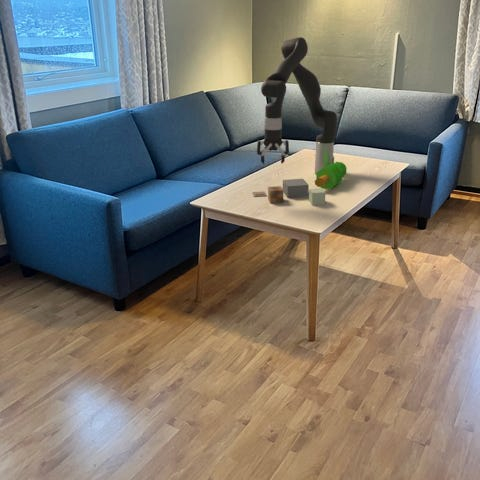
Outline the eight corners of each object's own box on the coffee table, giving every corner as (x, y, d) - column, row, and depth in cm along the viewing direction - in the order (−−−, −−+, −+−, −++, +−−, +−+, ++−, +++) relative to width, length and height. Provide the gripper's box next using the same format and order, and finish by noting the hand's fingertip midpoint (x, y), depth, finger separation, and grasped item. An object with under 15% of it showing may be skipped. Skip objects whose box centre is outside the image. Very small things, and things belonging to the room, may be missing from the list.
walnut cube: (280, 198, 248) (280, 186, 245) (283, 202, 242) (283, 190, 240) (268, 199, 247) (268, 186, 245) (270, 203, 242) (270, 191, 239)
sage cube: (321, 200, 244) (322, 188, 242) (324, 204, 238) (325, 192, 236) (308, 201, 243) (309, 188, 241) (312, 205, 238) (312, 193, 235)
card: (264, 192, 256) (264, 190, 256) (266, 196, 251) (266, 194, 250) (252, 192, 255) (252, 191, 255) (254, 196, 250) (254, 195, 250)
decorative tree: (314, 167, 251) (340, 150, 273) (306, 186, 257) (332, 169, 280) (334, 179, 247) (359, 161, 269) (325, 198, 254) (350, 179, 276)
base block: (302, 190, 258) (302, 178, 256) (308, 196, 249) (308, 184, 247) (282, 191, 257) (282, 179, 254) (287, 198, 248) (287, 186, 245)
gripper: (288, 125, 236) (287, 160, 243) (256, 126, 236) (256, 161, 242) (290, 128, 230) (289, 165, 236) (257, 129, 229) (257, 166, 235)
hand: (272, 163), depth 239 cm, fingers open, 8 cm apart
